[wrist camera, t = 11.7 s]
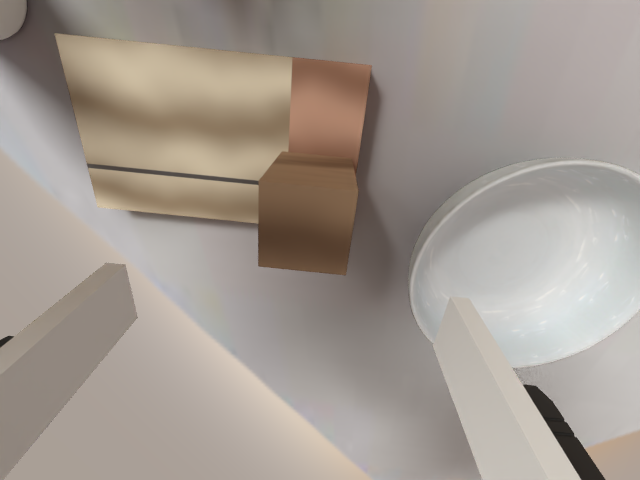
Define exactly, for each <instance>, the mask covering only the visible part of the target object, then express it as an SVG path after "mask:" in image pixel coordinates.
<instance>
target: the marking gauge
mask: <svg viewBox="0 0 640 480" xmlns="http://www.w3.org/2000/svg"><path fill="white" fill-rule="evenodd" d="M358 192H359V190H358V186H357V181H356V176H355V171H354V166H353V162H352V158H343V157H333V156H323V155H313V154H304V153H294V152H284V151H282V152H281V153H280V154H279V156H278V157H277V158H276V159H275V161H274V162H273V163H272V164H271V166H270V167H269V168H268V170H267V171H266V172H265V173H264V175H263V176H262V177H261V178H260V180H259V193H258V266H260V267H270V268H280V269H289V270H299V271H309V272H319V273H329V274H338V275H346V271H347V264H348V257H349V251H350V244H351V238H352V231H353V225H354V218H355V212H356V205H357V199H358Z"/></svg>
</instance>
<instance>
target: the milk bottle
mask: <svg viewBox="0 0 640 480" xmlns="http://www.w3.org/2000/svg"><path fill="white" fill-rule="evenodd" d="M26 11H27V0H0V40H2V39H5V38H8V37H10V36H12V35H13V34H15V33H16V32H18V30H19V29H20V28H21V27H22V25H23V23H24V20H25V18H26Z"/></svg>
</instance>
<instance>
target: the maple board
mask: <svg viewBox="0 0 640 480" xmlns="http://www.w3.org/2000/svg"><path fill="white" fill-rule="evenodd" d="M54 34H55V38H56V42H57V46H58V50H59V54H60V58H61V62H62V66H63V70H64V74H65V78H66V82H67V86H68V90H69V94H70V98H71V102H72V106H73V110H74V114H75V118H76V122H77V126H78V130H79V134H80V138H81V142H82V146H83V150H84V154H85V158H86V162H87V166H88V170H89V174H90V178H91V182H92V186H93V190H94V194H95V198H96V202H97V206H98V207H100V208H110V209H120V210H130V211H140V212H150V213H159V214H169V215H179V216H189V217H199V218H209V219H219V220H229V221H239V222H248V223H258V193H259V180H260V178H261V177H262V176H263V175H264V173H265V172H266V171H267V170H268V168H269V167H270V166H271V164H272V163H273V162H274V161H275V159H276V158H277V157H278V156H279V154H280V153H281V152H282V151H284V152H294V153H304V154H313V155H323V156H333V157H343V158H352V162H353V166H354V171H355V176H356V171H357V164H358V157H359V151H360V144H361V137H362V130H363V123H364V116H365V109H366V102H367V95H368V88H369V81H370V74H371V68H372V65H363V64H354V63H344V62H334V61H324V60H314V59H304V58H294V57H284V56H274V55H264V54H255V53H245V52H235V51H225V50H215V49H205V48H195V47H185V46H175V45H165V44H156V43H146V42H136V41H126V40H116V39H106V38H96V37H86V36H76V35H66V34H57V33H54Z"/></svg>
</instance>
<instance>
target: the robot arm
mask: <svg viewBox="0 0 640 480" xmlns="http://www.w3.org/2000/svg"><path fill="white" fill-rule="evenodd" d="M137 318H138V317H137V313H136V308H135V304H134V300H133V295H132V291H131V287H130V283H129V278H128V274H127V270H126V266H125V265H124V264H114V263H105V264H104V265H103V266H102V267H100V268H99V269H98V270H97V271H95V272H94V273H93V274H92V275H90V276H89V277H88V278H87V279H85V280H84V281H83V282H82V283H80V284H79V285H78V286H77V287H75V288H74V289H73V290H72V291H70V293H68V294H67V295H65V296H64V297H63V298H62V299H60V300H59V301H58V302H57V303H55V304H54V305H53V306H52V307H50V308H49V309H48V310H47V311H46V312H44V313H43V314H42V315H41V316H39V317H38V318H37V319H36V320H34V321H33V322H32V323H31V324H29V325H28V326H27V327H26V328H24V329H23V330H22V331H21V332H19V333H18V334H17V335H16V336H7V337H5V338H3V339H1V340H0V480H4V478H5V477H6V476H7V475H8V474H9V472H10V471H11V470H12V469H13V468H14V466H15V465H16V464H17V463H18V461H19V460H20V459H21V458H22V457H23V455H24V454H25V453H26V452H27V451H28V449H29V448H30V447H31V446H32V445H33V443H34V442H35V441H36V440H37V439H38V437H39V436H40V435H41V434H42V433H43V431H44V430H45V429H46V428H47V427H48V425H49V424H50V423H51V422H52V420H53V419H54V418H55V417H56V415H57V414H58V413H59V412H60V411H61V410H62V408H63V407H64V406H65V405H66V404H67V402H68V401H69V400H70V398H72V396H73V395H74V394H75V393H76V391H77V390H78V389H79V388H80V387H81V385H82V384H83V383H84V382H85V381H86V379H87V378H88V377H89V376H90V375H91V373H92V372H93V371H94V370H95V368H96V367H97V366H98V365H99V364H100V362H101V361H102V360H103V359H104V358H105V356H106V355H107V354H108V353H109V351H110V350H111V349H112V348H113V347H114V345H115V344H116V343H117V342H118V341H119V339H120V338H121V337H122V336H123V335H124V333H125V332H126V331H127V330H128V329H129V327H130V326H131V325H132V324H133V323H134V321H135V320H136V319H137ZM433 348H434V351H435V354H436V356H437V359H438V362H439V364H440V367H441V370H442V372H443V375H444V378H445V381H446V383H447V386H448V389H449V391H450V394H451V397H452V399H453V402H454V405H455V408H456V410H457V413H458V416H459V418H460V421H461V424H462V426H463V429H464V432H465V435H466V437H467V440H468V443H469V445H470V448H471V451H472V454H473V456H474V459H475V462H476V464H477V467H478V470H479V472H480V475H481V478H482V480H605V479H604V477H603V475H602V474H601V473H600V471H599V469H598V468H597V467H596V465H595V464H594V462H593V461H592V459H591V458H590V456H589V455H588V453H587V452H586V450H585V449H584V447H583V446H582V444H581V443H580V441H579V440H578V439H577V437H575V436H574V433H573V431H572V430H571V428H570V427H569V425H568V424H567V422H564V418H563V416H562V415H561V413H560V412H559V410H558V409H557V408H556V406H555V405H554V403H553V402H552V401H551V400H550V399H549V398H548V397H547V396H546V395H545V394H544V393H543V392H542V391H541V390H540V389H539V388H538V387H536V386H532V385H522V383H521V381H520V380H519V378H518V377H517V375H516V373H515V372H514V370H513V369H512V367H511V365H510V364H509V362H508V360H507V359H506V357H505V356H504V354H503V352H502V351H501V349H500V347H499V346H498V344H497V343H496V341H495V339H494V338H493V336H492V335H491V333H490V331H489V330H488V328H487V326H486V325H485V323H484V322H483V320H482V318H481V317H480V315H479V313H478V312H477V310H476V309H475V307H474V305H473V304H472V302H471V300H470V299H469V298H461V297H451V296H450V299H449V301H448V304H447V307H446V310H445V313H444V316H443V319H442V321H441V324H440V327H439V330H438V333H437V336H436V338H435V341H434V344H433Z"/></svg>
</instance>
